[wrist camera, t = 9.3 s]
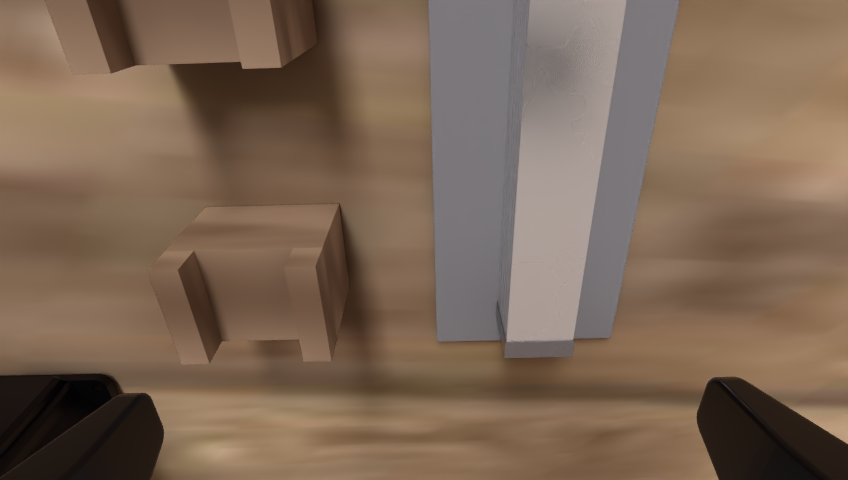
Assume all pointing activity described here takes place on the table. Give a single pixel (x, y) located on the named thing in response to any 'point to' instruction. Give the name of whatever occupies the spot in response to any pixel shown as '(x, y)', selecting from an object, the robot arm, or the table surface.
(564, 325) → the rail
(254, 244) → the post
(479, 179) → the mat
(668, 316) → the table surface
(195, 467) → the table surface
